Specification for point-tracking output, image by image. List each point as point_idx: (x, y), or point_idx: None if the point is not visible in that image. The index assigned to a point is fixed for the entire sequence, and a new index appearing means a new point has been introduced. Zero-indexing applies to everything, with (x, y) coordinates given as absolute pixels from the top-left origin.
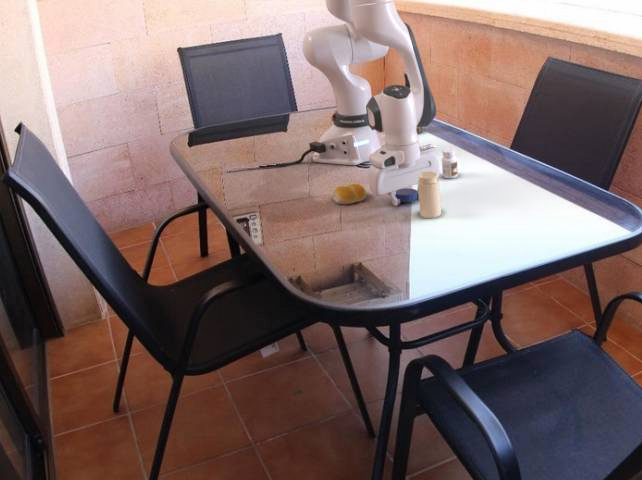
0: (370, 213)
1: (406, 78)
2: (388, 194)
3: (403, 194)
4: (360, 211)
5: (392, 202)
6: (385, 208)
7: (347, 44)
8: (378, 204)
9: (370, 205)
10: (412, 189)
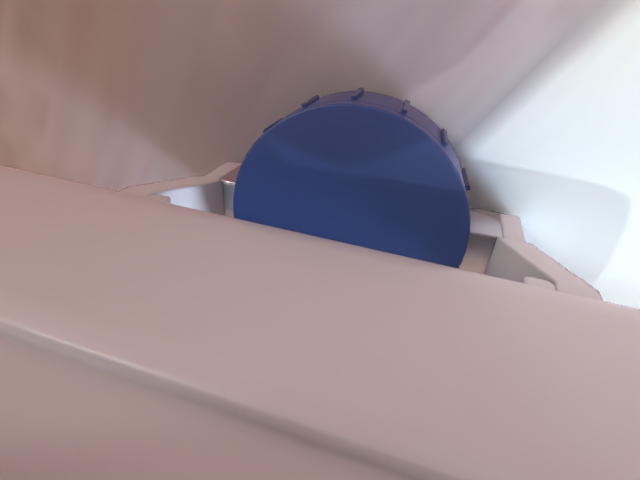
0: (57, 149)
1: None
2: (143, 188)
3: None
4: (2, 60)
5: (224, 163)
6: (163, 168)
7: None
8: (144, 54)
9: (84, 15)
10: (449, 223)
